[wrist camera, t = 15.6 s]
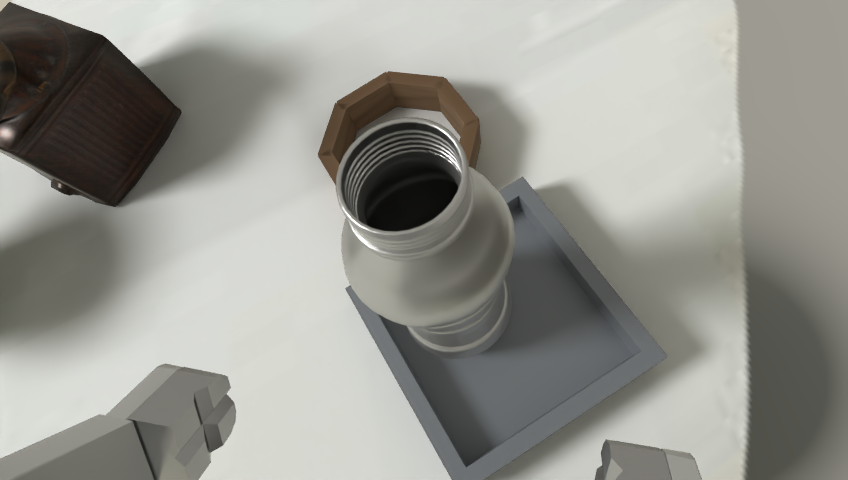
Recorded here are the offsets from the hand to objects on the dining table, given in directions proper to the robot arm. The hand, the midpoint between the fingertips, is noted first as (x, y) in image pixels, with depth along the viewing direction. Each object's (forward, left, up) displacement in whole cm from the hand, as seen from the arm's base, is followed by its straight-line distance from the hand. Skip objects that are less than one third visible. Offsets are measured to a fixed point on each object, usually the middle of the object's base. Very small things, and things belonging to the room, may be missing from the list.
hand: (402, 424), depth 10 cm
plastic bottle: (+6, -3, -21) cm, 22 cm away
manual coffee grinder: (+33, +14, -22) cm, 42 cm away
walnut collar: (+18, -6, -21) cm, 29 cm away
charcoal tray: (+4, -4, -21) cm, 22 cm away
